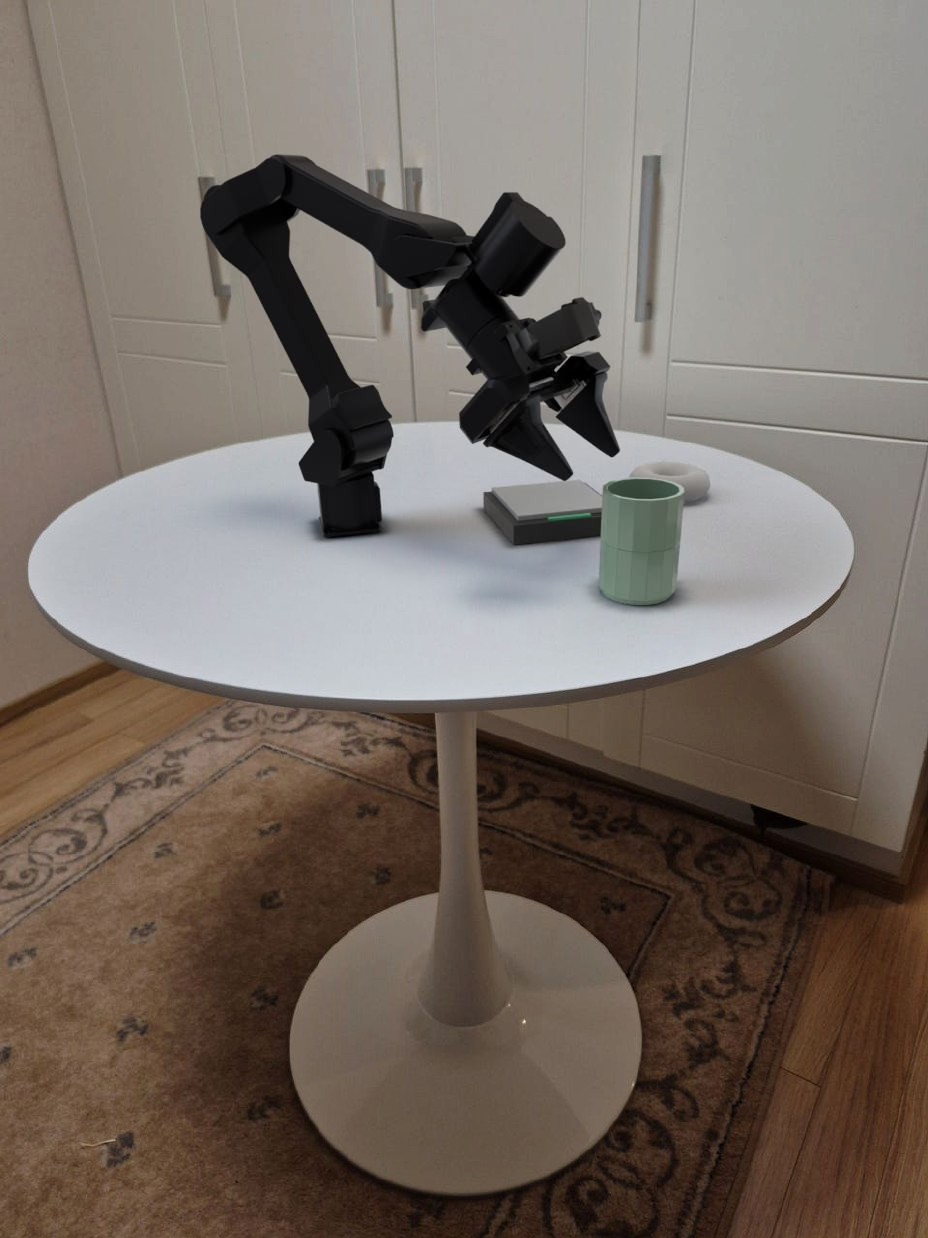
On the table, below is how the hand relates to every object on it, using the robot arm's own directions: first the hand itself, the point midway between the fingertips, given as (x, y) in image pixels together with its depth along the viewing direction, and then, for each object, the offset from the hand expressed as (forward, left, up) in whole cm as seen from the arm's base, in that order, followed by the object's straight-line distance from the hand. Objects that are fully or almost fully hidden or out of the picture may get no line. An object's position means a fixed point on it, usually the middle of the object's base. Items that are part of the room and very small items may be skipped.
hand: (593, 465), depth 78 cm
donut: (+19, +23, -12) cm, 32 cm away
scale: (+2, +18, -11) cm, 22 cm away
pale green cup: (+3, -4, -11) cm, 12 cm away
